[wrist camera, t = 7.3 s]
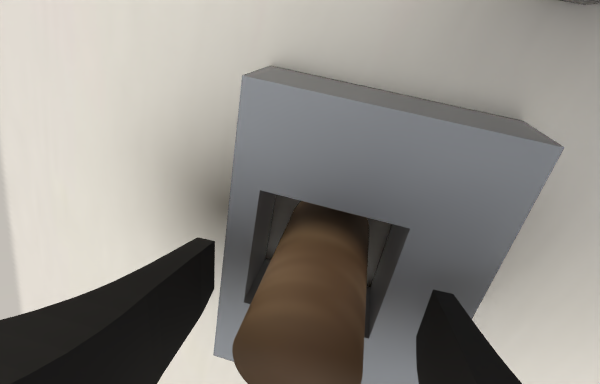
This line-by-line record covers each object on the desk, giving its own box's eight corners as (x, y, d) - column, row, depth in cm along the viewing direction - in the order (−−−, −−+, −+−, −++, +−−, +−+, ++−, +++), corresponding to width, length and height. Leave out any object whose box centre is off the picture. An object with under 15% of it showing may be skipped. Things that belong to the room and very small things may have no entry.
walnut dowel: (386, 230, 15) (392, 377, 9) (330, 274, 16) (301, 425, 10) (327, 176, 14) (288, 289, 8) (275, 225, 16) (208, 354, 10)
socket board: (523, 121, 12) (564, 147, 9) (411, 358, 17) (417, 418, 15) (270, 65, 13) (242, 75, 10) (237, 307, 18) (213, 355, 16)
